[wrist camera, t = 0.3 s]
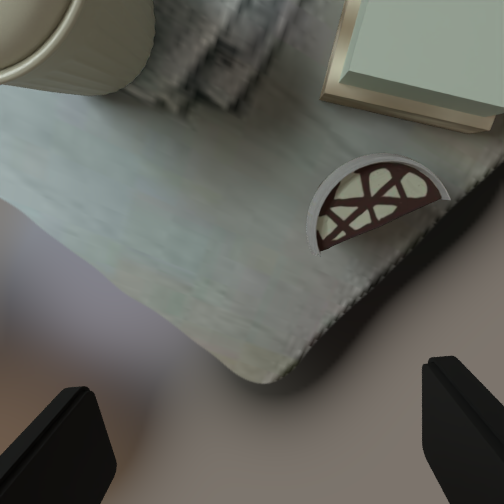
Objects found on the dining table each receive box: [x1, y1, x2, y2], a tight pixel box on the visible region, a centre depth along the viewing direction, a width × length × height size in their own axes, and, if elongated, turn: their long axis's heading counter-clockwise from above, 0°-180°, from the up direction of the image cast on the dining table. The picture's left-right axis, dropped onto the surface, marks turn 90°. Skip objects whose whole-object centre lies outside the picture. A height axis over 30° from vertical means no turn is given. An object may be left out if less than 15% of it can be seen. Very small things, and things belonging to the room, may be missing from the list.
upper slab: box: [339, 0, 504, 117], centre depth 25 cm, size 10×14×4 cm
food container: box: [306, 153, 451, 257], centre depth 30 cm, size 12×6×10 cm, turn 116°
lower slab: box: [319, 0, 496, 134], centre depth 29 cm, size 12×16×4 cm
